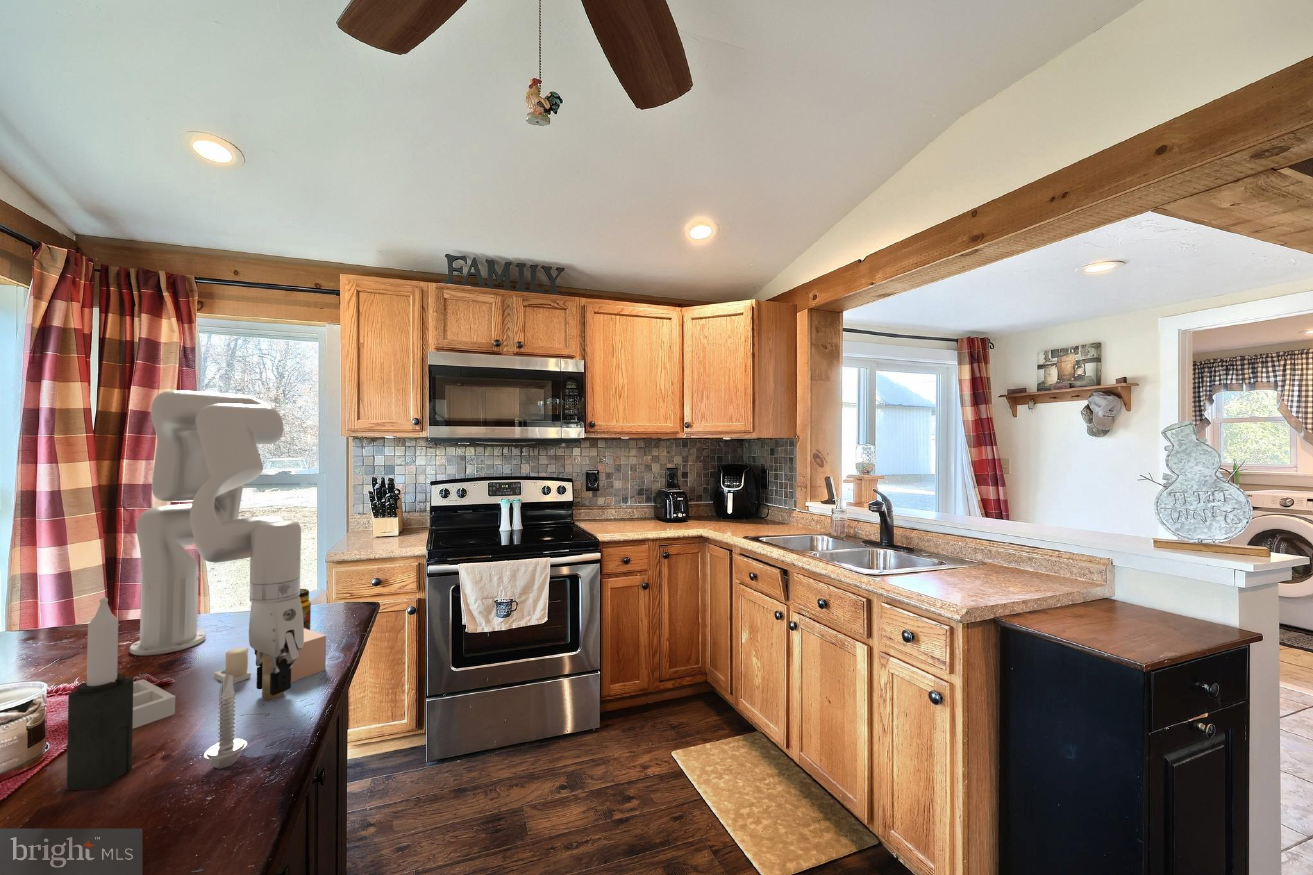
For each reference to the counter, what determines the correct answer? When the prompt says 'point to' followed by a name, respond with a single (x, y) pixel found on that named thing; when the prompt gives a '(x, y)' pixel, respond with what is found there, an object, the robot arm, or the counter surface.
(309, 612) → the condiment
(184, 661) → the counter surface
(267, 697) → the pin
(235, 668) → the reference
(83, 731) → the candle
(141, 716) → the socket board
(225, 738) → the screw
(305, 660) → the block
